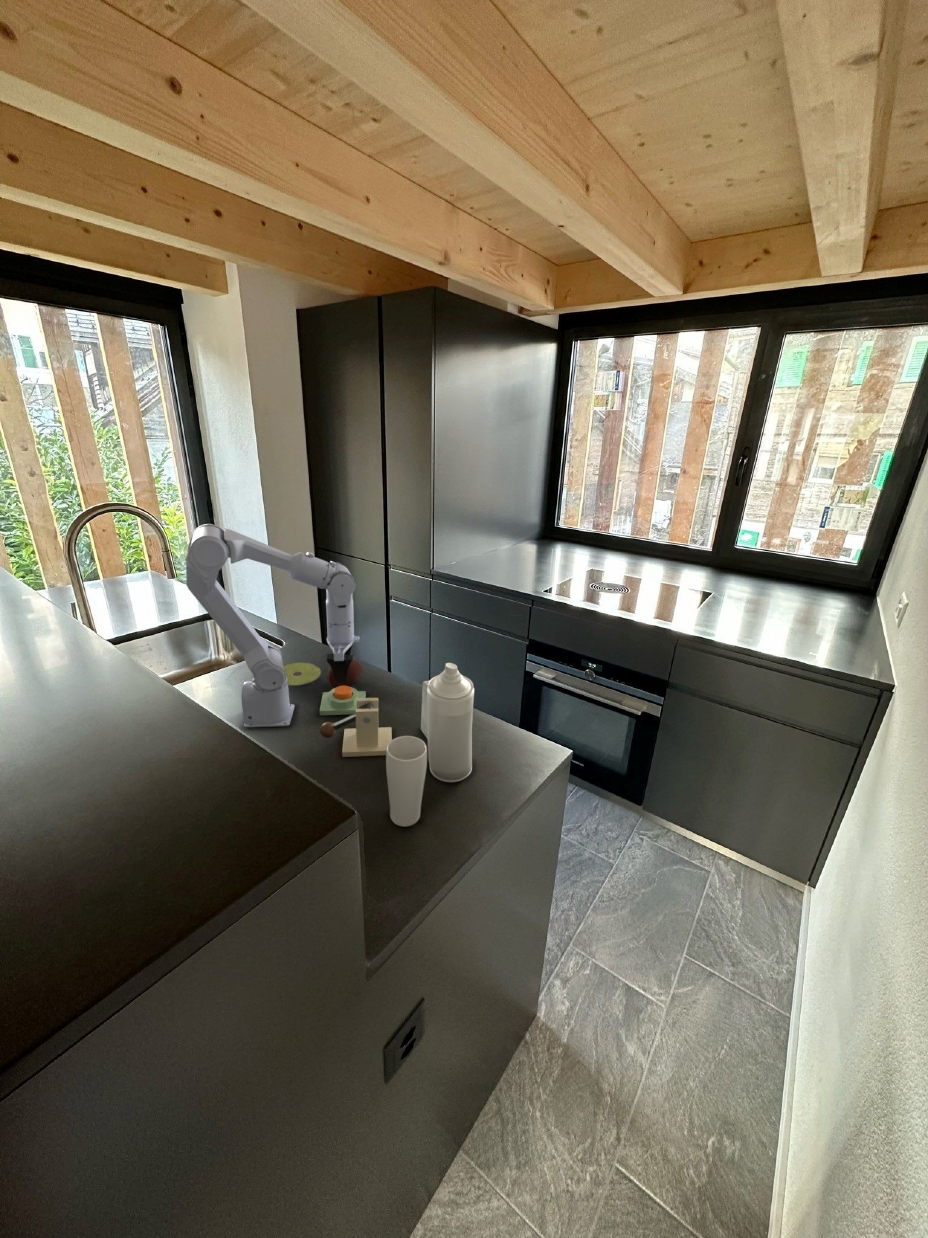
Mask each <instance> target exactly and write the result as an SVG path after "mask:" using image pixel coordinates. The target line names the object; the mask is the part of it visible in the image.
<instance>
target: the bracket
mask: <svg viewBox="0 0 928 1238" xmlns="http://www.w3.org/2000/svg"><path fill="white" fill-rule="evenodd" d="M370 702H371V703H372V705H373V706H374V708H375V709H359V707H361V706H363V705H365V704H368V703H370ZM392 730H393V729H392V726H386V727H383V726H382V727H379V697H365V698H357V709H356V721H355V728H353V727H352V728H344V732H343V740H342V751H341V756H342V758H349V757H350V758H351V757H376V756H377V757H378V756H386V751H387V745H388V744H389V742H390V741H392V740H393V737H392V735H393V734H392V732H393V731H392Z"/></svg>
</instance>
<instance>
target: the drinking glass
mask: <svg viewBox="0 0 928 1238" xmlns="http://www.w3.org/2000/svg"><path fill="white" fill-rule="evenodd" d="M427 766H428V745H427V744H426V743H425V741H424V740H423V739H421V738H420V737H417V736H413V735H402V736H401V735H400V736H397V737H394V738H392V741H390V742H389V744H388V745H387V751H386V755H385V770H386V771H385V773H386V781H387V783H386V784H387V790H388V802H389V818H390V820H391V822H392V823H393V824H395V825H396V826H398V827H407V828H408V827H411V826H413V825H415V824H417V822H418V821H419V820H420V818H421V815H422V812H421V811H422V801H423V795H424V789H425V788H424V787H425V780H426V775H427V768H428V767H427Z"/></svg>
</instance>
